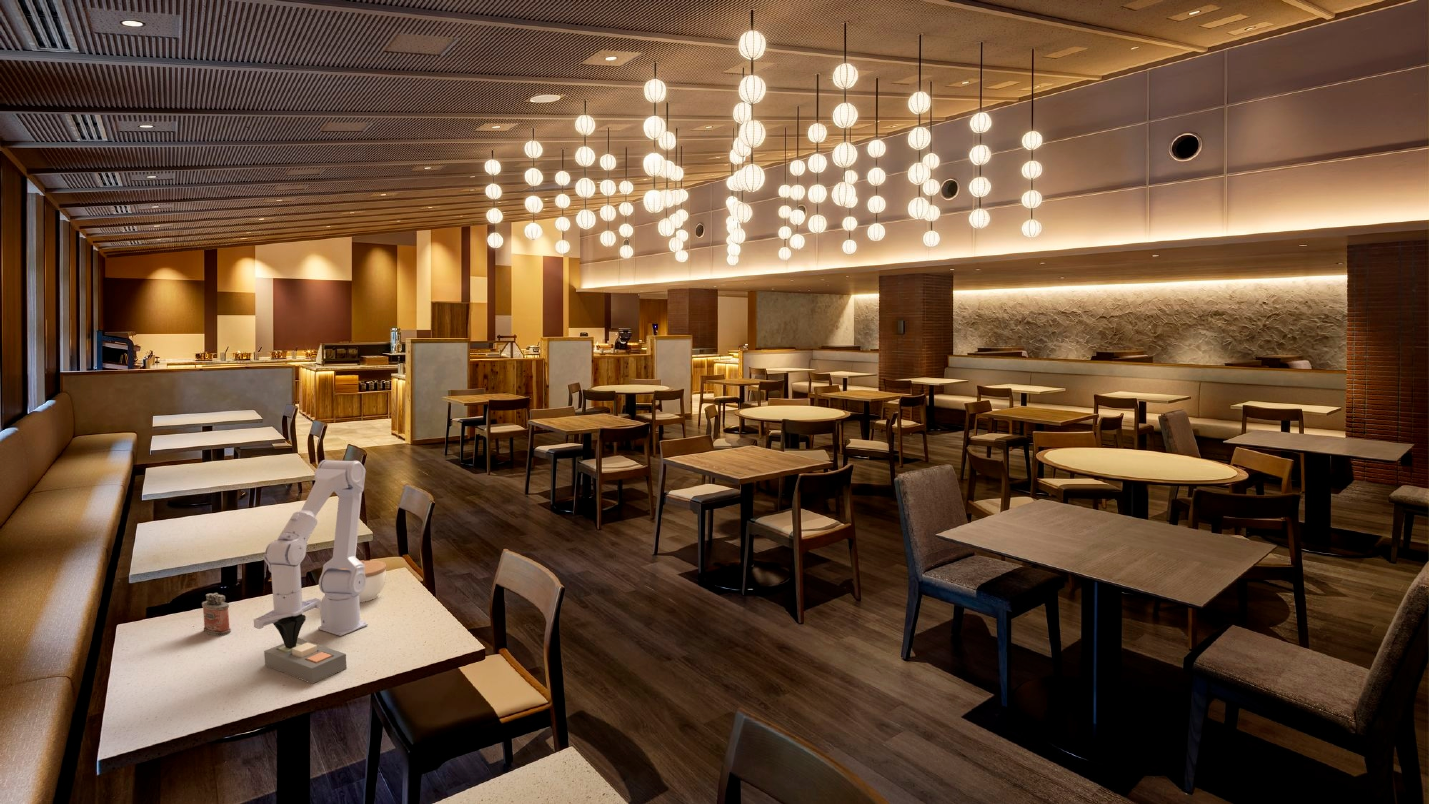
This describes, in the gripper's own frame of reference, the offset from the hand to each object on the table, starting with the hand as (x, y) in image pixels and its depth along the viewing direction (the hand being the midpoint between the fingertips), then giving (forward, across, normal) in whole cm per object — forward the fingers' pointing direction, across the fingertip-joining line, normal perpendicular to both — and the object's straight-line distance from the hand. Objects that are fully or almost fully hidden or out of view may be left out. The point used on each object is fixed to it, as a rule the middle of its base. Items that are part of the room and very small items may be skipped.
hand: (290, 647), depth 166 cm
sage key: (+2, 0, 0) cm, 2 cm away
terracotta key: (+2, 0, -11) cm, 11 cm away
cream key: (+1, 0, -5) cm, 6 cm away
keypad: (+4, 0, -5) cm, 6 cm away
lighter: (+4, +1, +34) cm, 34 cm away
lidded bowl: (+4, +34, +22) cm, 40 cm away
